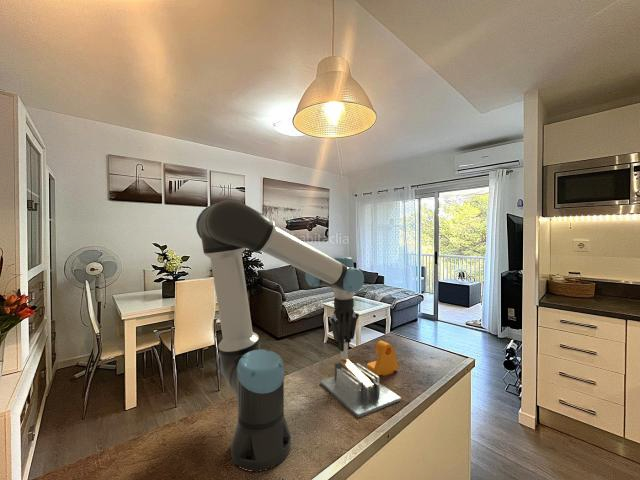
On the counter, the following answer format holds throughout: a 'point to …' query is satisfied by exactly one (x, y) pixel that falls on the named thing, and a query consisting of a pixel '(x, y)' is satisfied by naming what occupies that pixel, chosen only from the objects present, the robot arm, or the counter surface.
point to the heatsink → (359, 391)
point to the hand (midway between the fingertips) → (344, 358)
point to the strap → (357, 373)
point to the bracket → (383, 360)
